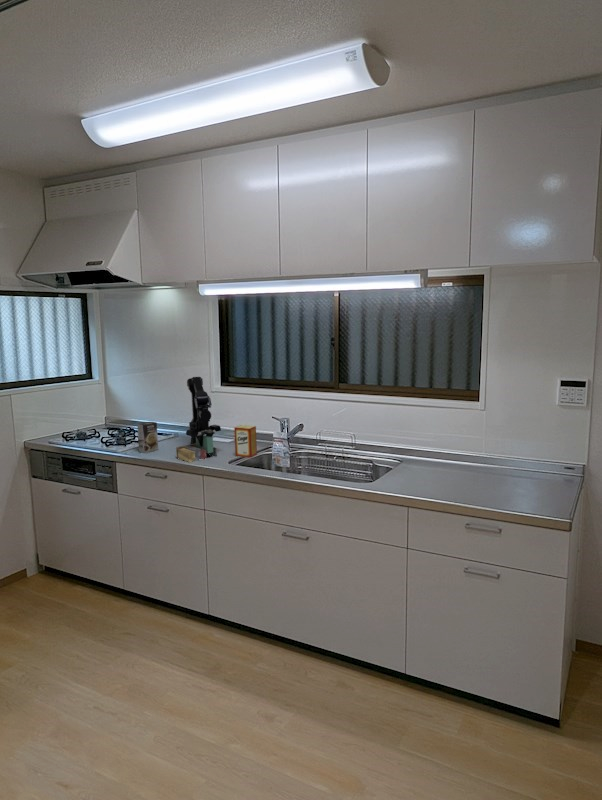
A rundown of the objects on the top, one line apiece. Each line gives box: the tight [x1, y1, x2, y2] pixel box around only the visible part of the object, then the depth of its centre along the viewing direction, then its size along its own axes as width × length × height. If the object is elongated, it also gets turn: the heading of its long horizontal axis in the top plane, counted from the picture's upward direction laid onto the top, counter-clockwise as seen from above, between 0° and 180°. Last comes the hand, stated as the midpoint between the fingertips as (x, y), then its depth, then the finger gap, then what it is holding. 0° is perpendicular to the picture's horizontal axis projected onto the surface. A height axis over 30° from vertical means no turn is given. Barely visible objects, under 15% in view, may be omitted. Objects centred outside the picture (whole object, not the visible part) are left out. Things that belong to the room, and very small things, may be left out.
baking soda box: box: [234, 424, 258, 458], centre depth 300 cm, size 10×6×16 cm
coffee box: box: [137, 421, 159, 454], centre depth 315 cm, size 9×6×16 cm
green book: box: [196, 435, 214, 453], centre depth 301 cm, size 4×11×8 cm, turn 43°
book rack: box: [175, 443, 218, 463], centre depth 299 cm, size 17×12×6 cm
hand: (204, 445), depth 302 cm, fingers closed on green book, 3 cm apart
